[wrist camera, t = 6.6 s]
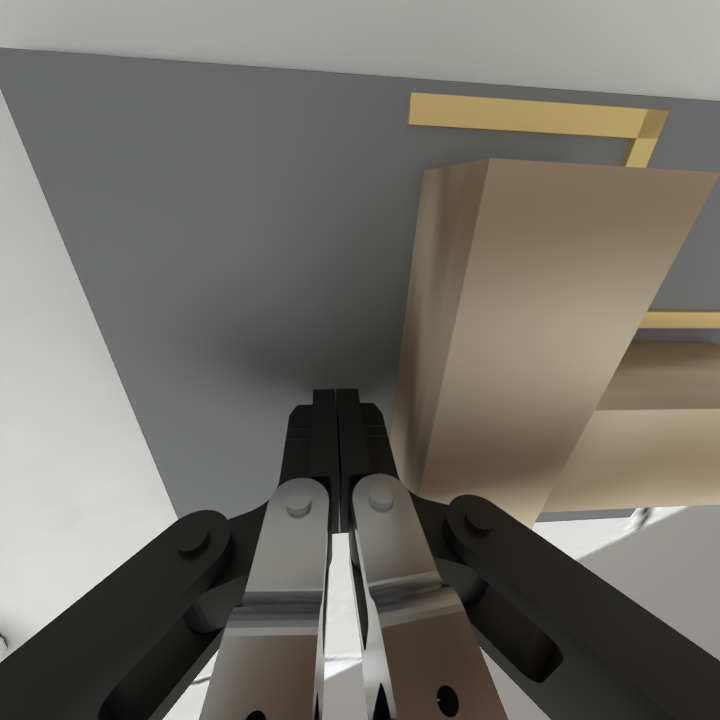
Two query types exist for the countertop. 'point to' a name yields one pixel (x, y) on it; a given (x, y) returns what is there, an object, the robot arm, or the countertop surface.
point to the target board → (297, 231)
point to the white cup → (2, 647)
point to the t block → (552, 342)
